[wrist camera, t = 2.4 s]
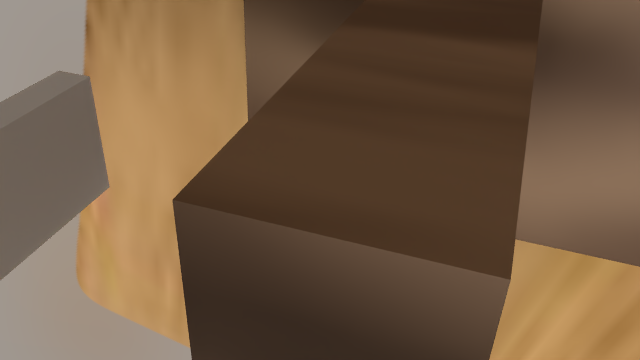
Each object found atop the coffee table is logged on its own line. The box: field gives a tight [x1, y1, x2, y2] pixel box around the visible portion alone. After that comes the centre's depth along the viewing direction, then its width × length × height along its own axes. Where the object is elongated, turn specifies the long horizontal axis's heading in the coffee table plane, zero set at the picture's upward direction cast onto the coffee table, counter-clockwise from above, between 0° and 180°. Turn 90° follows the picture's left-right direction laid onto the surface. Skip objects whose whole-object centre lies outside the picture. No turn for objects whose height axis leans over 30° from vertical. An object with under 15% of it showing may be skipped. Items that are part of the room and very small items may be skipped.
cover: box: [173, 0, 640, 360], centre depth 18 cm, size 15×15×26 cm
